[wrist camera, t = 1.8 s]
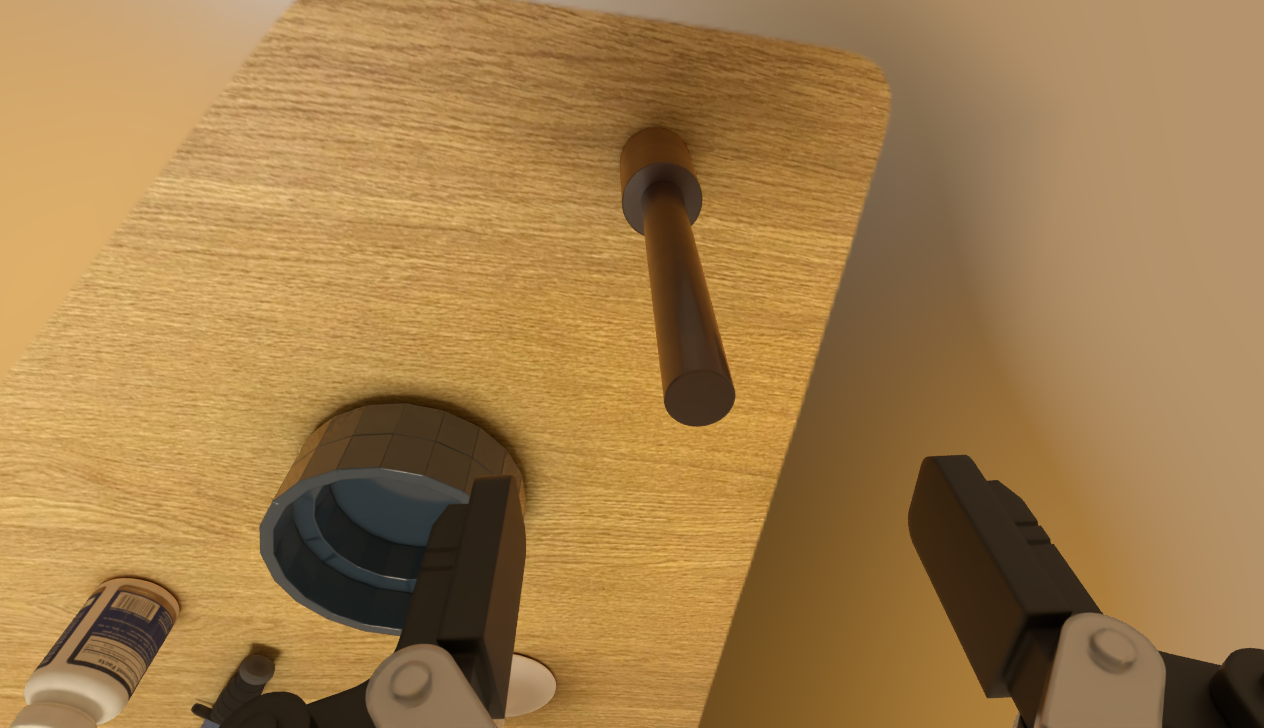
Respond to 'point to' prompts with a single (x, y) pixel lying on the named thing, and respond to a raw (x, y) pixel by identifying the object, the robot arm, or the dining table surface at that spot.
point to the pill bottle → (99, 657)
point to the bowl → (372, 508)
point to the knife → (238, 690)
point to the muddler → (676, 276)
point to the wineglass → (527, 688)
